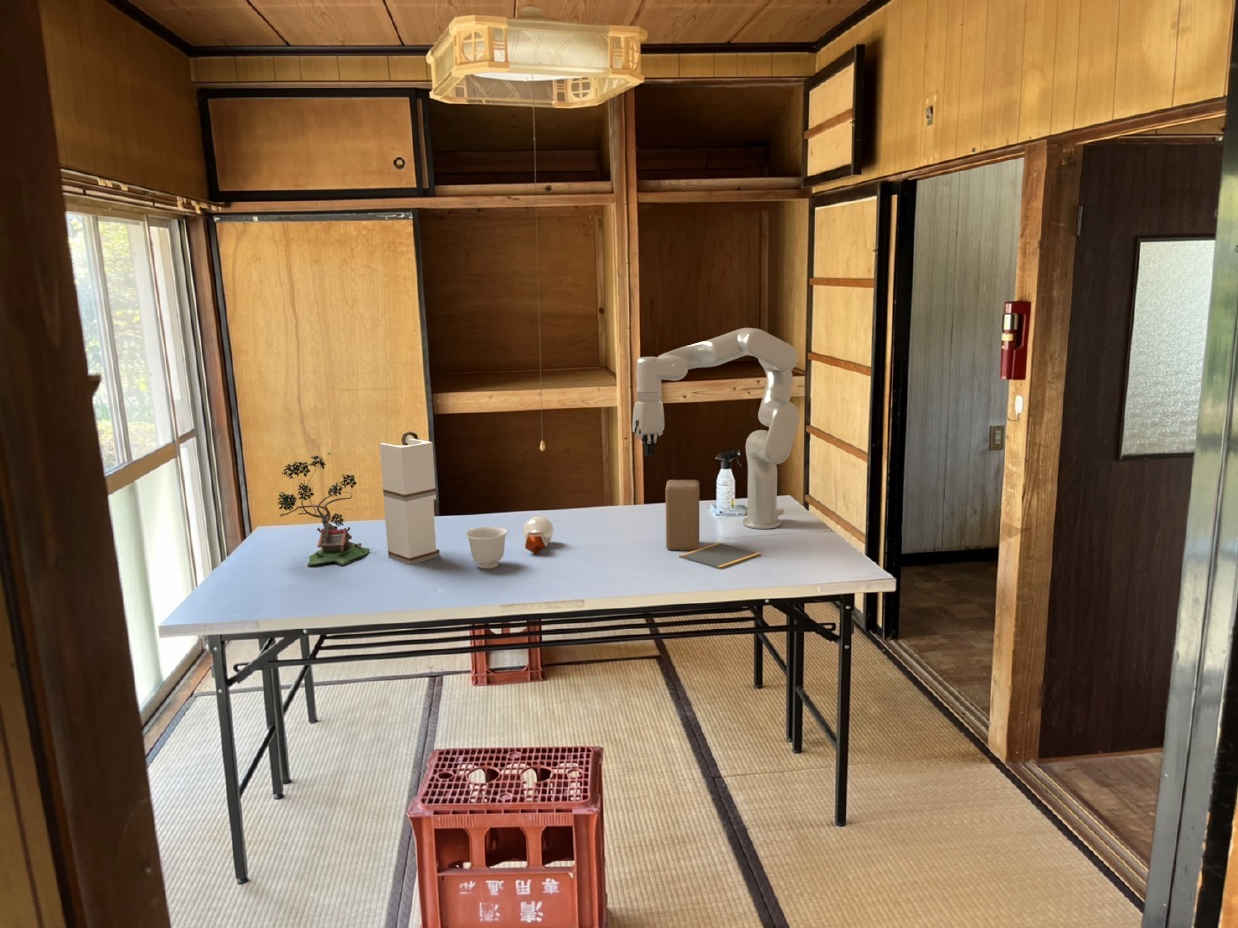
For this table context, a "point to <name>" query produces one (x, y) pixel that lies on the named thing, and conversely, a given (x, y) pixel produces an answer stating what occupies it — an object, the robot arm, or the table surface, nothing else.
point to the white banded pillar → (409, 500)
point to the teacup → (487, 545)
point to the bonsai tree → (325, 520)
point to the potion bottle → (537, 533)
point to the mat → (719, 555)
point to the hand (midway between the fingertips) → (649, 455)
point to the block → (682, 515)
